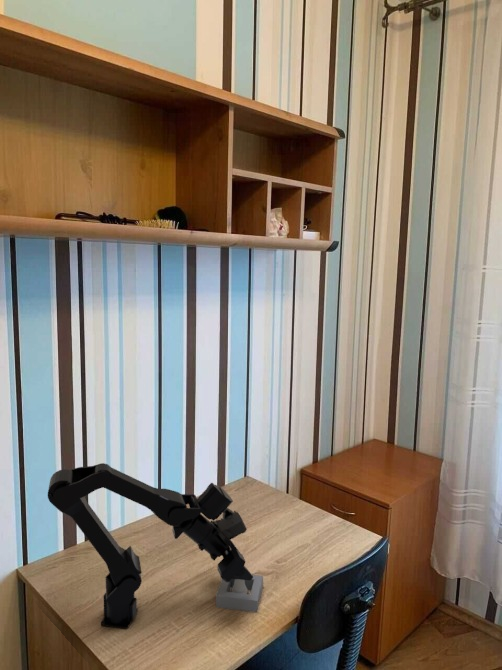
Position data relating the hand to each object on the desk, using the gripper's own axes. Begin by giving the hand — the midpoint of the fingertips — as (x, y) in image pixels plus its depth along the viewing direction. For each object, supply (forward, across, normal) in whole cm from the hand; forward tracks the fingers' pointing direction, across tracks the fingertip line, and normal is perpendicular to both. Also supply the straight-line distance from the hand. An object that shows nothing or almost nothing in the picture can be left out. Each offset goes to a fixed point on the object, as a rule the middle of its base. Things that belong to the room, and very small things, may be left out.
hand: (246, 567), depth 128 cm
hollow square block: (+4, 0, +6) cm, 8 cm away
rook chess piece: (+4, 0, +7) cm, 8 cm away
